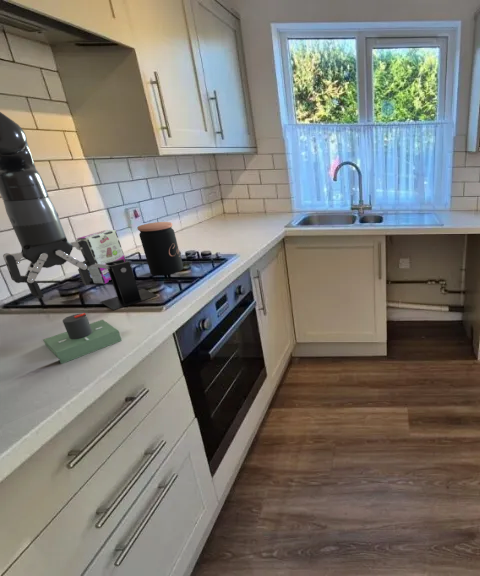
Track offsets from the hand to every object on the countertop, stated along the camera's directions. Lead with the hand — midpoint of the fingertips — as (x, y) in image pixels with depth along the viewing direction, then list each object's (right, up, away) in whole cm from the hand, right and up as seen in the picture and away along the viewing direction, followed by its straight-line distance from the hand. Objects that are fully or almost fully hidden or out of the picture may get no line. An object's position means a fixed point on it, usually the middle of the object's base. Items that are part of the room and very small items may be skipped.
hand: (64, 290), depth 82 cm
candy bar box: (-25, +4, +48) cm, 54 cm away
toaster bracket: (-5, -4, +28) cm, 29 cm away
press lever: (-8, +6, +20) cm, 22 cm away
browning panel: (+1, -13, +5) cm, 14 cm away
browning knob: (+1, -11, +4) cm, 11 cm away
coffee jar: (-7, +6, +51) cm, 52 cm away
